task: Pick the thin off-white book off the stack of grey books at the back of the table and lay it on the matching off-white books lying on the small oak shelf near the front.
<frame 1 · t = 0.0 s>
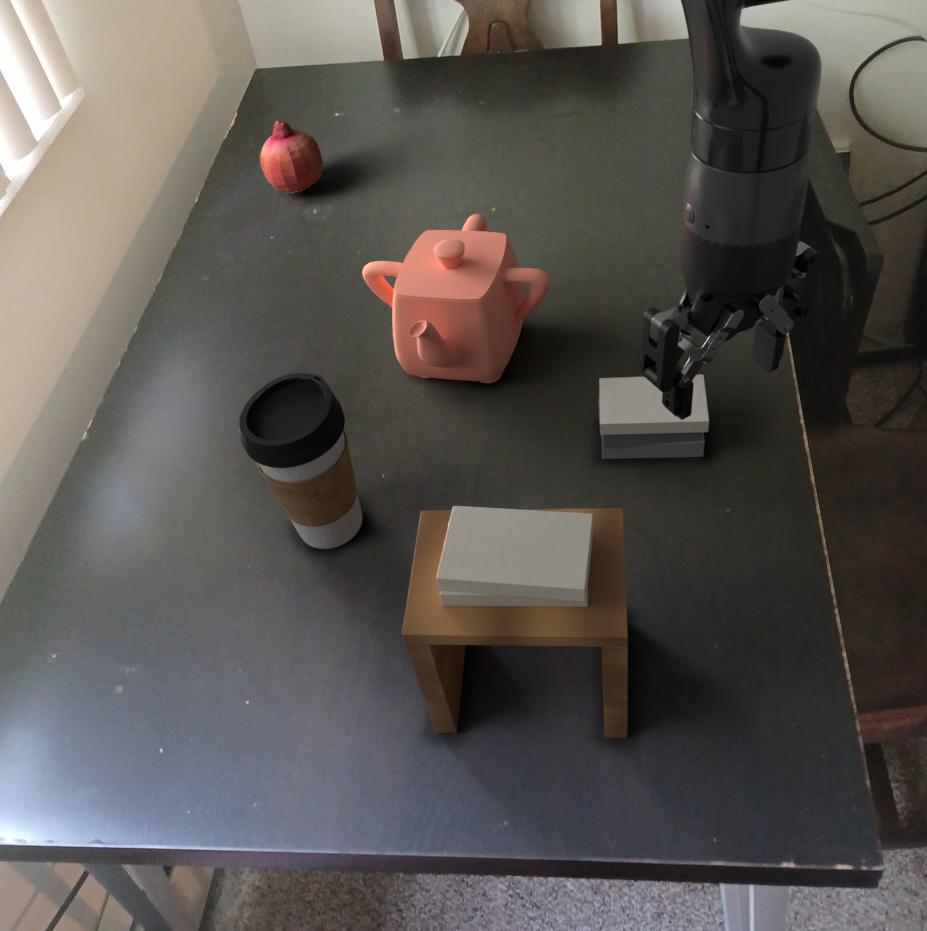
hand: (722, 388, 70), 12 cm above the table, tool pointing down, fingers open, 8 cm apart
shelf: (532, 674, 69), on the table
white books: (516, 568, 59), resting on shelf
coffee cup: (331, 524, 82), on the table
grey books: (651, 440, 83), on the table
teapot: (464, 358, 95), on the table
white book: (652, 410, 80), point 4 cm above the table, touching grey books
fruit: (300, 192, 121), on the table
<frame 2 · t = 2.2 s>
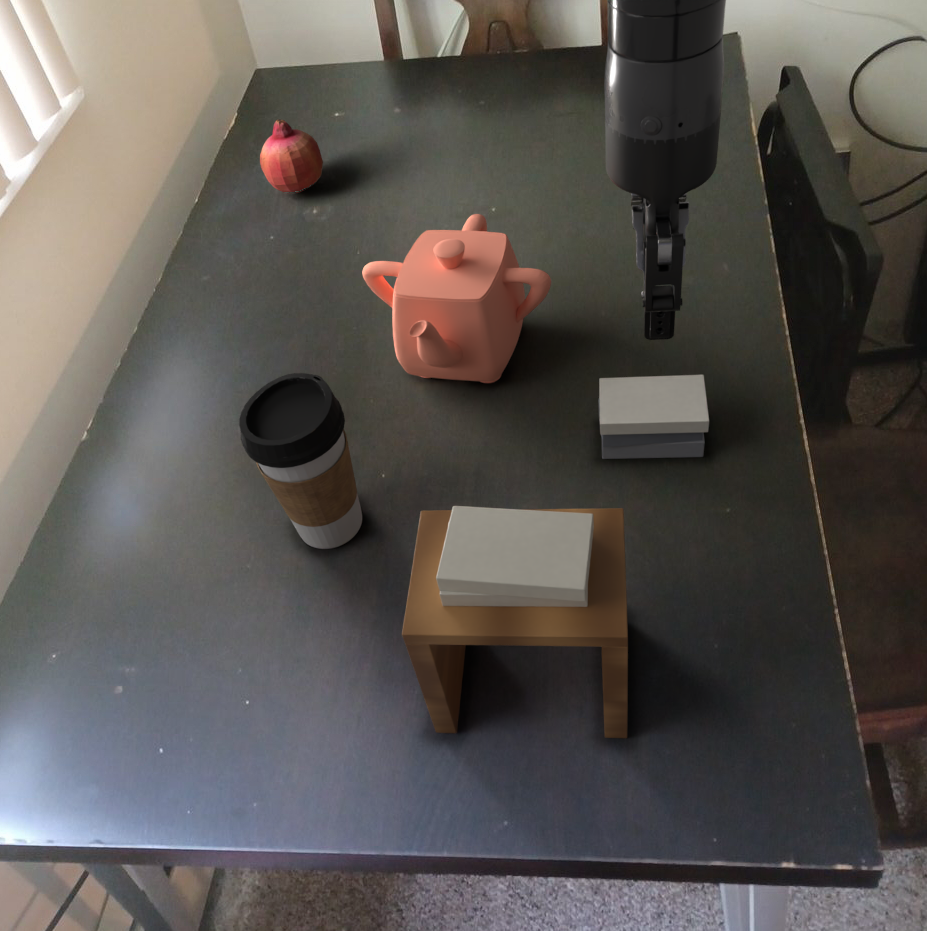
hand: (655, 301, 71), 16 cm above the table, tool pointing down, fingers open, 8 cm apart
nothing on the table moved.
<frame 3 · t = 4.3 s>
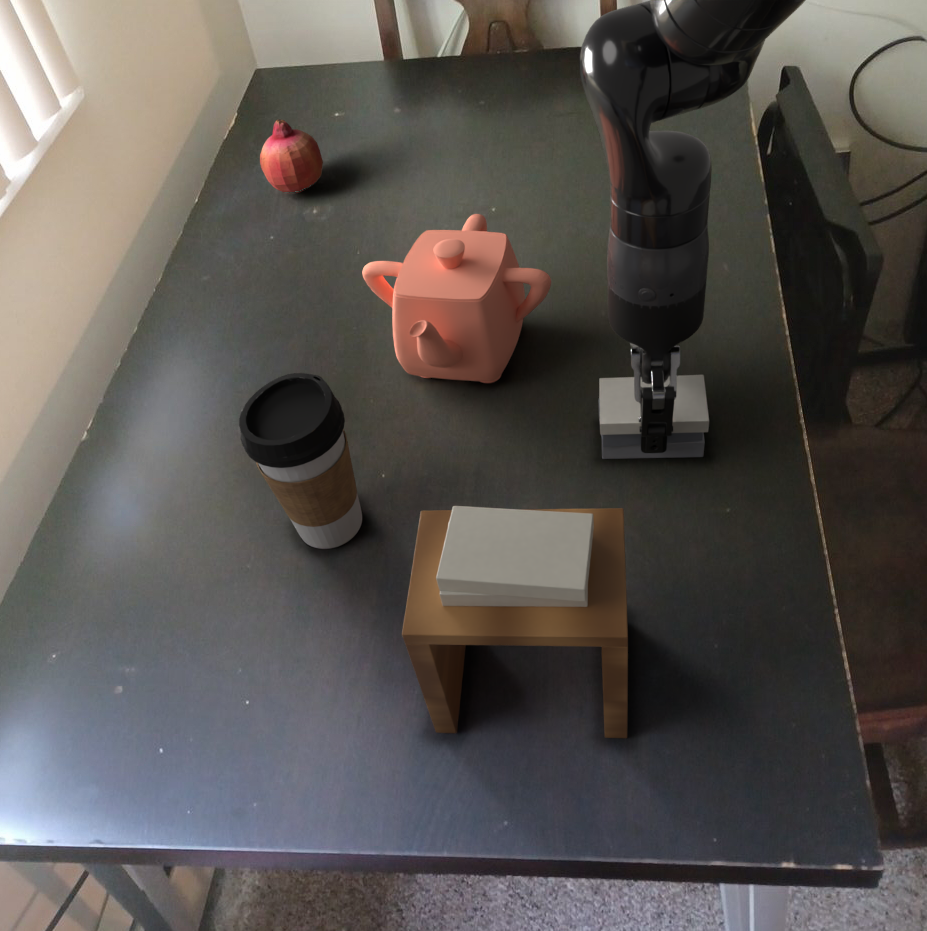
hand: (651, 423, 82), 2 cm above the table, tool pointing down, fingers closed on white book, 5 cm apart
white book: (652, 410, 80), point 4 cm above the table, touching grey books, gripper
everything else where it was.
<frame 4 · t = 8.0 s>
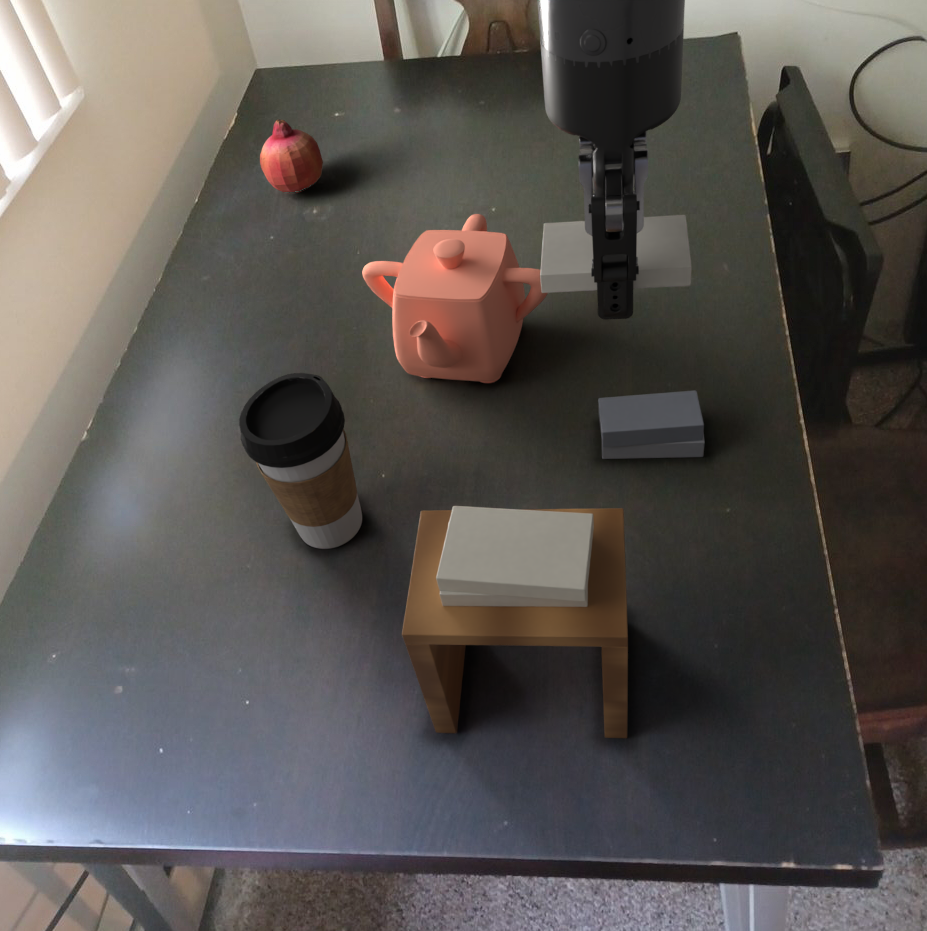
hand: (615, 284, 60), 25 cm above the table, tool pointing down, fingers closed on white book, 5 cm apart
white book: (614, 262, 58), point 27 cm above the table, touching gripper
everything else where it was.
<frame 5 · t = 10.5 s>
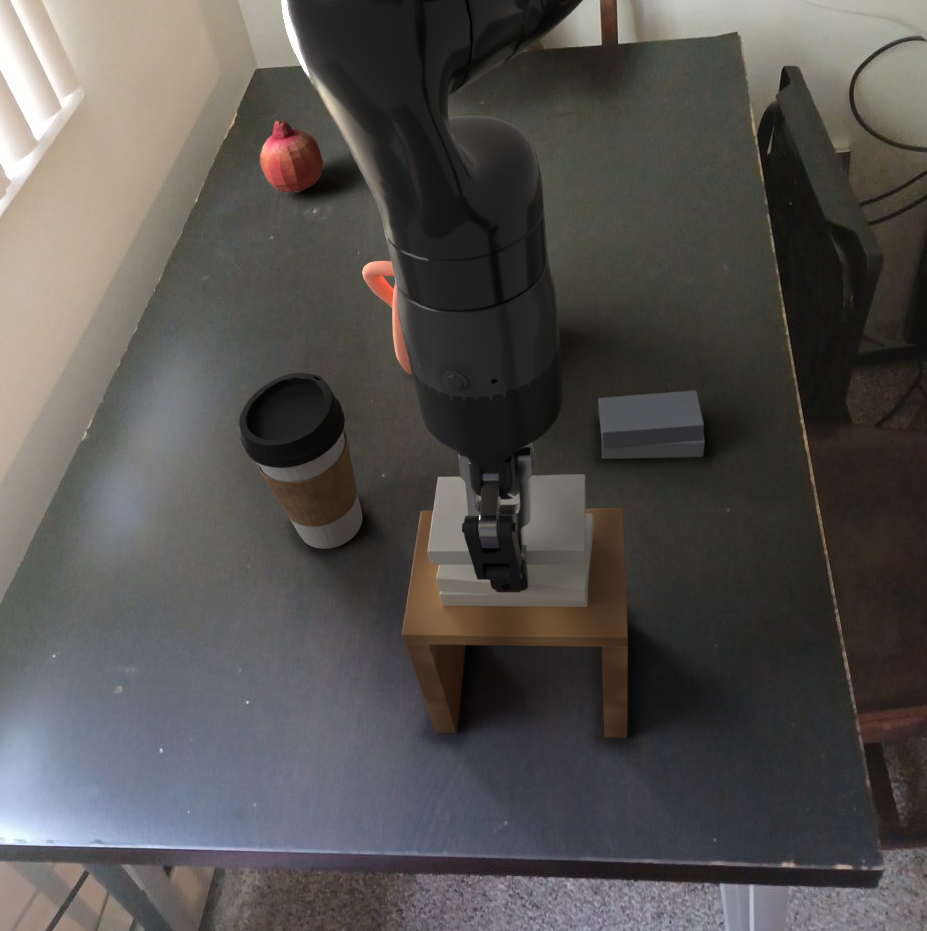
hand: (513, 542, 57), 17 cm above the table, tool pointing down, fingers closed on white book, 5 cm apart
white book: (509, 526, 55), point 19 cm above the table, touching gripper
everything else where it was.
when the fingers open (17 cm above the table, at t = 11.5 s): white book drops 1 cm, resting on white books.
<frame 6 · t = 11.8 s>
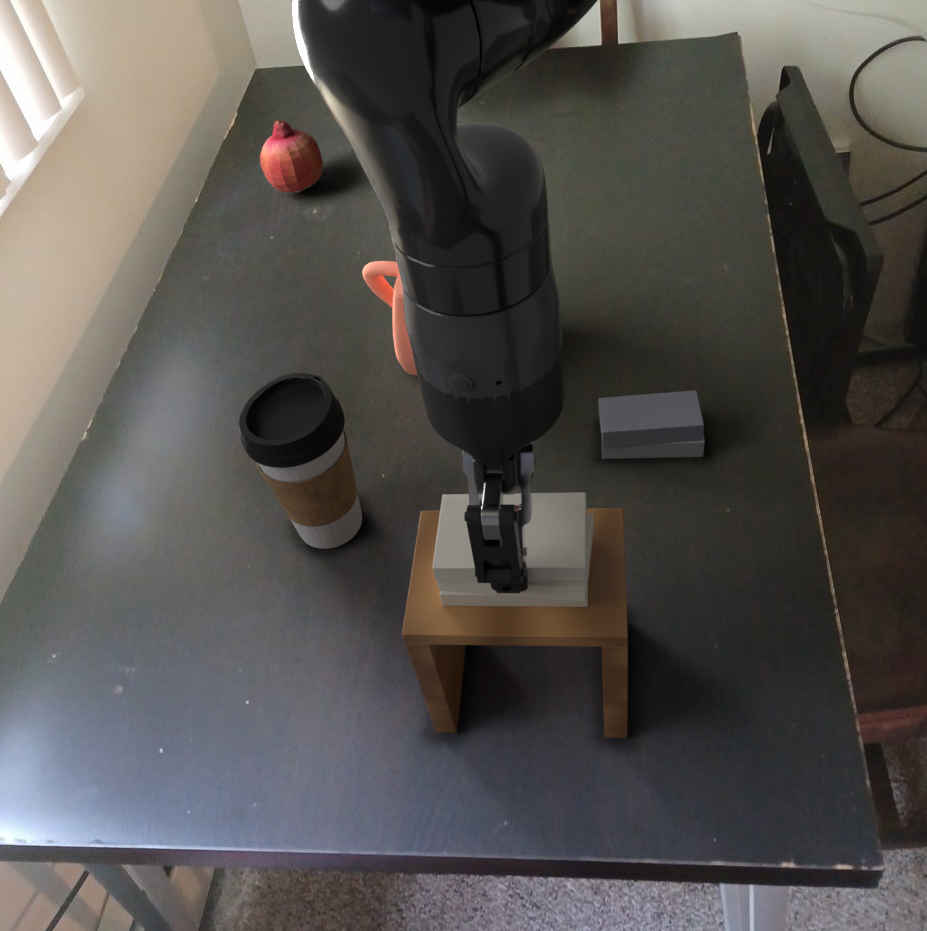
hand: (514, 529, 57), 17 cm above the table, tool pointing down, fingers open, 8 cm apart
white book: (512, 542, 57), point 17 cm above the table, touching white books
everything else where it was.
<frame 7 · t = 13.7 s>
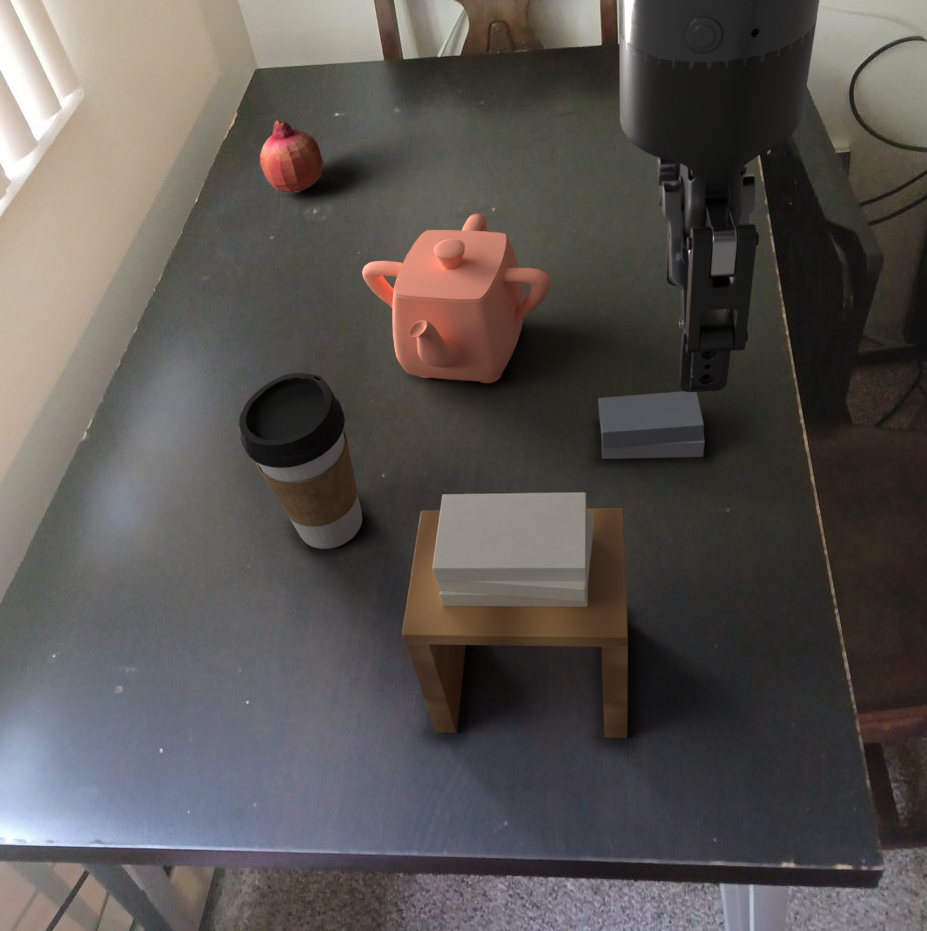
hand: (693, 330, 47), 31 cm above the table, tool pointing down, fingers open, 8 cm apart
nothing on the table moved.
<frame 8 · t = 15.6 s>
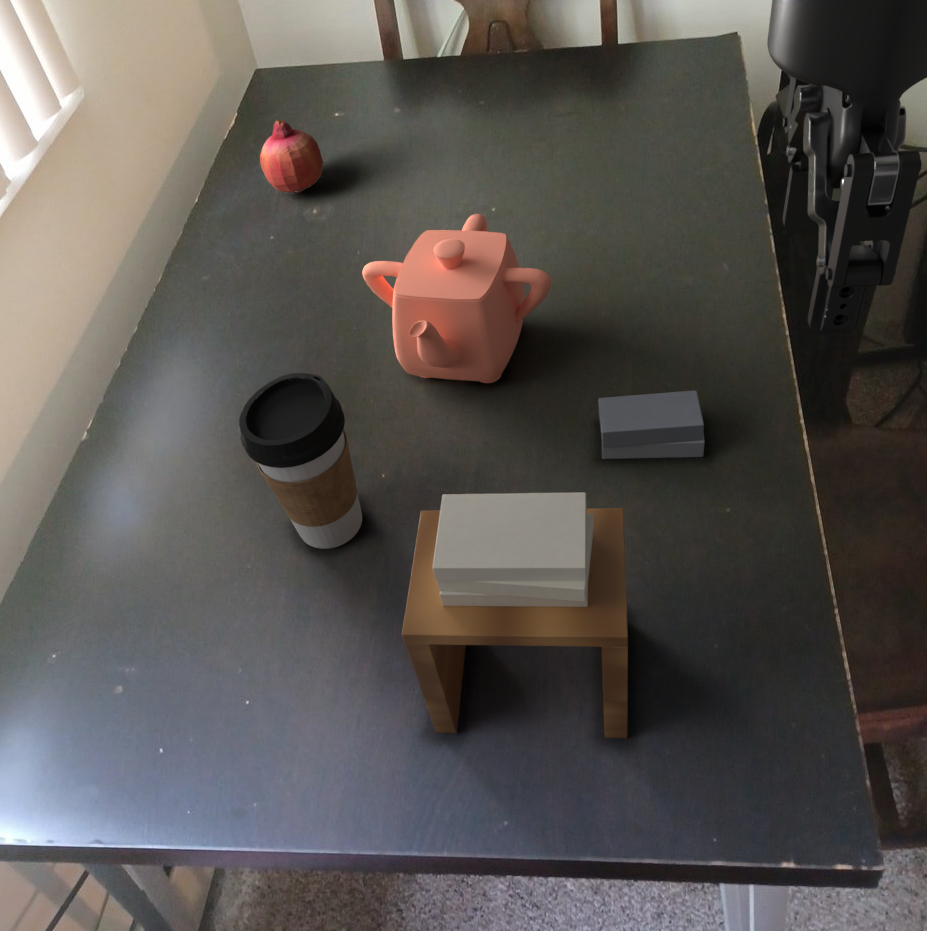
hand: (816, 275, 46), 32 cm above the table, tool pointing down, fingers open, 8 cm apart
nothing on the table moved.
at the end: white book 0.0 cm off-centre on the white books, point 2.8 cm above the white books's base; white book tilted 0°; the gripper is holding nothing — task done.
